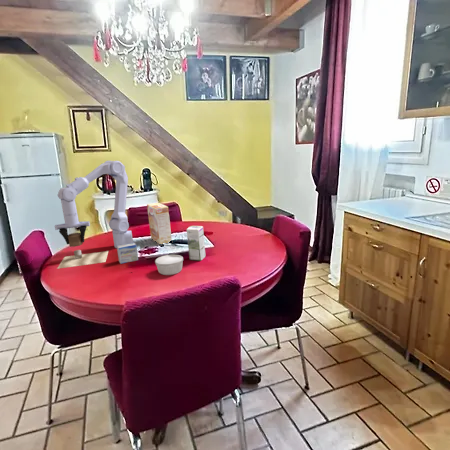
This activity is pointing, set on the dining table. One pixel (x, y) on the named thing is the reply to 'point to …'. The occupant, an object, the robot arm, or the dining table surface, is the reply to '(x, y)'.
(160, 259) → the ramekin
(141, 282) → the dining table surface
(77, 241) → the walnut cap
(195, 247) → the syrup box
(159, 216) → the coffeecake box
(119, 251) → the medicine box
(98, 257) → the post board
